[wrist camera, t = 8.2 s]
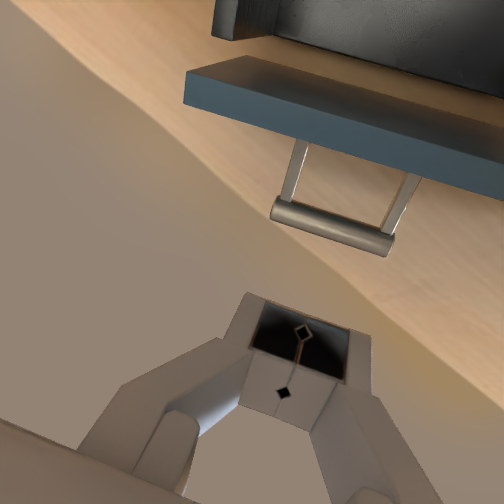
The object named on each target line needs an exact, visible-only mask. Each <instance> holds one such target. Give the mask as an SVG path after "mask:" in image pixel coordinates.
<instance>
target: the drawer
mask: <svg viewBox="0 0 504 504" xmlns="http://www.w3.org/2000/svg"><path fill="white" fill-rule="evenodd" d="M211 35H212V36H214V37H218V38H222V39H225V40H229V41H236V40H243V39H250V38H257V37H264V36H271V35H273V36H277V37H280V38H284V39H287V40H291V41H295V42H298V43H302V44H306V45H309V46H313V47H316V48H320V49H324V50H327V51H331V52H335V53H338V54H342V55H346V56H349V57H353V58H356V59H360V60H364V61H367V62H371V63H375V64H378V65H382V66H385V67H389V68H393V69H396V70H400V71H404V72H407V73H411V74H414V75H418V76H422V77H425V78H429V79H433V80H436V81H440V82H443V83H447V84H451V85H454V86H458V87H462V88H465V89H469V90H472V91H476V92H480V93H483V94H487V95H491V96H494V97H498V98H501V99H504V0H216V2H215V9H214V17H213V25H212V32H211ZM183 103H184V104H186V105H189V106H192V107H195V108H199V109H202V110H205V111H209V112H212V113H215V114H218V115H222V116H225V117H228V118H232V119H235V120H238V121H241V122H245V123H248V124H251V125H255V126H258V127H261V128H264V129H268V130H271V131H274V132H278V133H281V134H284V135H287V136H291V137H294V138H297V139H296V142H295V146H294V149H293V153H292V156H291V160H290V163H289V167H288V170H287V174H286V177H285V181H284V184H283V188H282V191H281V195H277V197H276V198H275V201H274V203H273V206H272V209H271V213H270V219H271V220H273V221H276V222H279V223H282V224H285V225H288V226H291V227H294V228H297V229H300V230H303V231H306V232H309V233H312V234H315V235H318V236H321V237H324V238H327V239H330V240H333V241H336V242H339V243H342V244H345V245H348V246H351V247H354V248H357V249H360V250H363V251H366V252H369V253H372V254H375V255H378V256H381V257H387V255H388V254H389V253H390V251H391V249H392V247H393V244H394V240H395V233H394V230H395V228H396V226H397V224H398V222H399V221H400V219H401V217H402V215H403V213H404V211H405V209H406V207H407V205H408V203H409V201H410V199H411V197H412V195H413V193H414V192H415V190H416V188H417V186H418V184H419V182H420V180H421V178H422V177H425V178H429V179H432V180H435V181H439V182H442V183H445V184H448V185H452V186H455V187H458V188H461V189H465V190H468V191H471V192H475V193H478V194H481V195H484V196H488V197H491V198H494V199H498V200H501V201H504V128H500V127H497V126H493V125H490V124H486V123H483V122H479V121H476V120H472V119H469V118H465V117H462V116H458V115H455V114H451V113H448V112H444V111H440V110H437V109H433V108H430V107H426V106H423V105H419V104H416V103H412V102H409V101H405V100H402V99H398V98H395V97H391V96H388V95H384V94H381V93H377V92H374V91H370V90H367V89H363V88H359V87H356V86H352V85H349V84H345V83H342V82H338V81H335V80H331V79H328V78H324V77H321V76H317V75H314V74H310V73H307V72H303V71H300V70H296V69H293V68H289V67H286V66H282V65H278V64H275V63H271V62H268V61H264V60H261V59H257V58H254V57H250V56H247V55H245V56H242V57H238V58H234V59H230V60H227V61H223V62H219V63H216V64H212V65H208V66H204V67H201V68H197V69H193V70H190V71H187V72H186V81H185V91H184V101H183ZM310 143H314V144H317V145H320V146H324V147H327V148H330V149H333V150H337V151H340V152H343V153H347V154H350V155H353V156H356V157H360V158H363V159H366V160H370V161H373V162H376V163H379V164H383V165H386V166H389V167H393V168H396V169H399V170H402V171H406V173H405V175H404V177H403V179H402V181H401V183H400V185H399V187H398V189H397V192H396V194H395V196H394V198H393V200H392V202H391V204H390V206H389V208H388V210H387V212H386V214H385V216H384V218H383V220H382V222H381V224H380V228H379V227H376V226H373V225H370V224H367V223H364V222H361V221H358V220H355V219H351V218H348V217H345V216H342V215H339V214H336V213H333V212H330V211H327V210H324V209H321V208H317V207H314V206H311V205H308V204H305V203H302V202H299V201H296V200H293V196H294V193H295V190H296V187H297V183H298V180H299V177H300V174H301V171H302V167H303V164H304V161H305V158H306V154H307V151H308V148H309V145H310Z"/></svg>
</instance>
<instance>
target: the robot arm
mask: <svg viewBox="0 0 504 504" xmlns="http://www.w3.org/2000/svg"><path fill="white" fill-rule="evenodd" d="M237 404H239V405H242V406H244V407H247V408H250V409H253V410H256V411H258V412H261V413H264V414H267V415H269V416H272V417H275V418H277V419H280V420H282V421H284V422H287V423H289V424H291V425H294V426H296V427H298V428H301V429H303V430H305V431H308V432H310V433H309V435H310V438H311V441H312V444H313V448H314V451H315V453H316V457H317V460H318V463H319V466H320V469H321V472H322V475H323V479H324V482H325V485H326V488H327V490H328V494H329V497H330V500H331V503H332V504H443V502H442V501H441V499H440V497H439V496H438V494H437V492H436V491H435V489H434V487H433V486H432V484H431V482H430V481H429V479H428V478H427V476H426V474H425V473H424V471H423V469H422V468H421V466H420V464H419V463H418V461H417V459H416V458H415V456H414V455H413V453H412V451H411V450H410V448H409V446H408V445H407V443H406V442H405V440H404V438H403V437H402V435H401V433H400V432H399V430H398V428H397V427H396V425H395V424H394V422H393V420H392V419H391V417H390V415H389V414H388V412H387V410H386V409H385V407H384V406H383V404H382V402H381V401H380V399H379V398H378V397H375V396H373V395H372V338H371V336H370V335H368V334H364V333H361V332H358V331H356V330H353V329H350V328H349V329H348V328H345V327H342V326H340V325H337V324H334V323H331V322H328V321H325V320H322V319H319V318H317V317H313V316H311V315H308V314H305V313H302V312H300V311H297V310H294V309H292V308H289V307H287V306H284V305H281V304H279V303H276V302H274V301H271V300H268V299H267V300H266V299H265V298H262V297H259V296H257V295H254V294H252V293H249V292H247V293H246V294H245V295H244V296H243V299H242V301H241V303H240V305H239V307H238V309H237V311H236V313H235V315H234V317H233V319H232V321H231V324H230V326H229V328H228V330H227V332H226V334H225V336H224V338H223V339H219V338H215V339H213V340H211V341H209V342H207V343H205V344H203V345H201V346H199V347H197V348H195V349H193V350H191V351H189V352H187V353H185V354H183V355H181V356H179V357H177V358H175V359H173V360H171V361H169V362H167V363H165V364H163V365H161V366H160V367H157V368H155V369H153V370H151V371H149V372H147V373H145V374H144V375H141V376H140V377H138V378H136V379H134V380H132V381H130V382H128V383H126V384H124V385H122V386H121V387H120V388H119V390H118V391H117V393H116V394H115V396H114V397H113V398H112V400H111V401H110V403H109V404H108V405H107V407H106V408H105V410H104V411H103V413H102V414H101V416H100V417H99V418H98V420H97V421H96V422H95V424H94V425H93V427H92V428H91V430H90V431H89V432H88V434H87V436H86V437H85V438H84V440H83V441H82V442H81V444H80V445H79V447H78V448H77V450H74V449H71V448H69V447H67V446H64V445H62V444H60V443H57V442H55V441H52V440H51V439H48V438H46V437H44V436H41V435H39V434H37V433H34V432H32V431H30V430H27V429H25V428H23V427H20V426H18V425H15V424H13V423H11V422H9V421H6V420H4V419H2V418H0V504H199V503H197V502H195V501H192V500H190V499H188V498H185V497H183V495H184V492H185V490H186V486H187V482H188V478H189V474H190V469H191V465H192V461H193V457H194V453H195V449H196V444H197V440H198V437H199V436H200V435H202V434H203V433H204V432H205V431H207V430H208V429H209V428H210V427H212V426H213V425H214V424H215V423H217V422H218V421H219V420H220V419H222V418H223V417H224V416H225V415H227V414H228V413H229V412H230V411H232V410H233V409H234V408H236V407H237Z"/></svg>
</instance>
